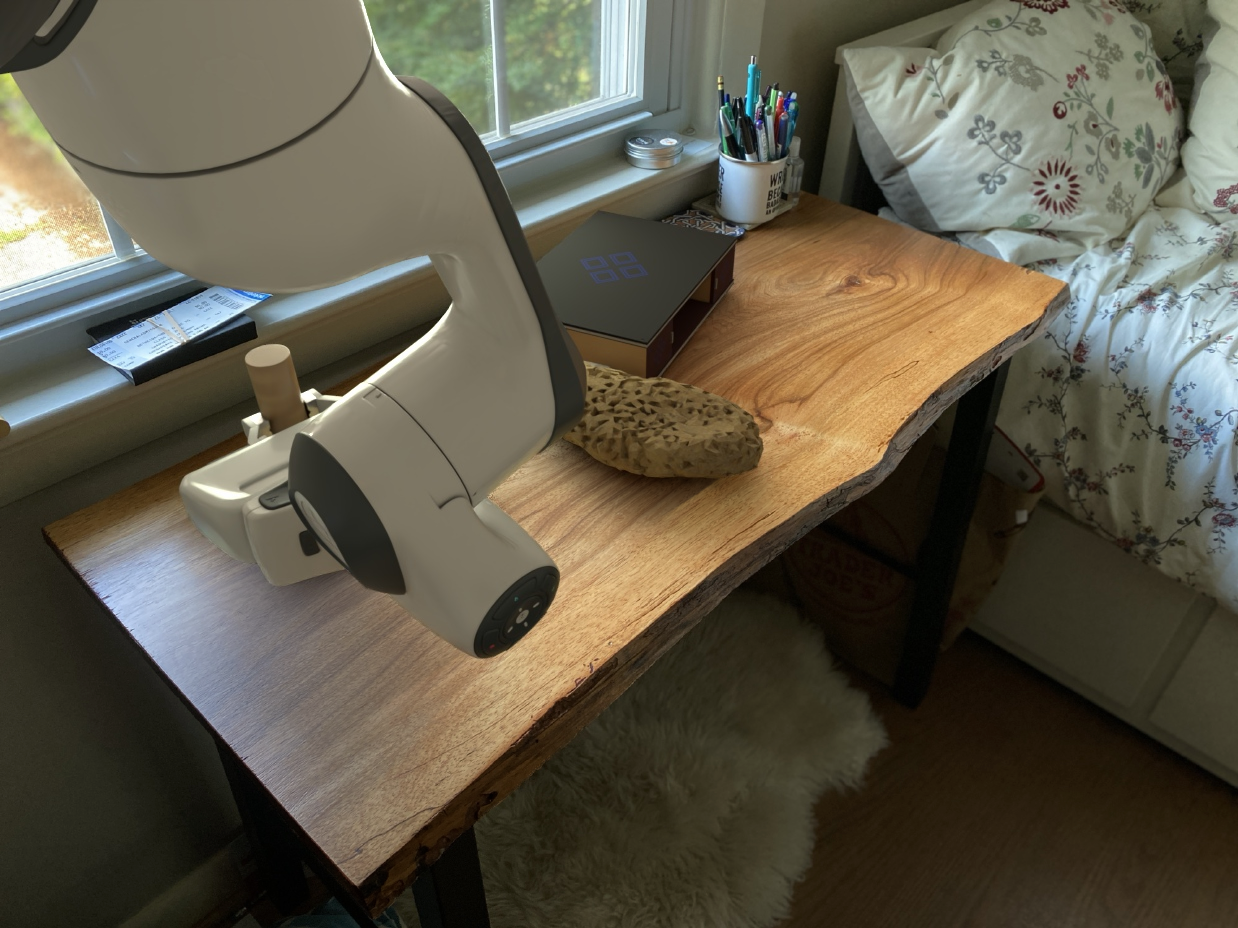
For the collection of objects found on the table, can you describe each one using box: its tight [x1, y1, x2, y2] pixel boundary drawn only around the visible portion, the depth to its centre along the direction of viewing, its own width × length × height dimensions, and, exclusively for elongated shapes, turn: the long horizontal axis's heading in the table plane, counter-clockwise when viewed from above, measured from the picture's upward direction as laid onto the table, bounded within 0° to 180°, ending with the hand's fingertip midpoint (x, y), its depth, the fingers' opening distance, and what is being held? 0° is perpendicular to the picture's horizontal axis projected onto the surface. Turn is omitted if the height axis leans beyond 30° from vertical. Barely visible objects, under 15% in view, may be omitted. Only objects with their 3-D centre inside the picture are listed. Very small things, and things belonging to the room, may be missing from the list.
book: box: [535, 209, 738, 379], centre depth 100 cm, size 17×25×7 cm
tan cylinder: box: [244, 343, 308, 435], centre depth 72 cm, size 5×5×12 cm
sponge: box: [561, 361, 764, 480], centre depth 82 cm, size 13×8×20 cm
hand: (278, 411), depth 72 cm, fingers closed on tan cylinder, 3 cm apart
